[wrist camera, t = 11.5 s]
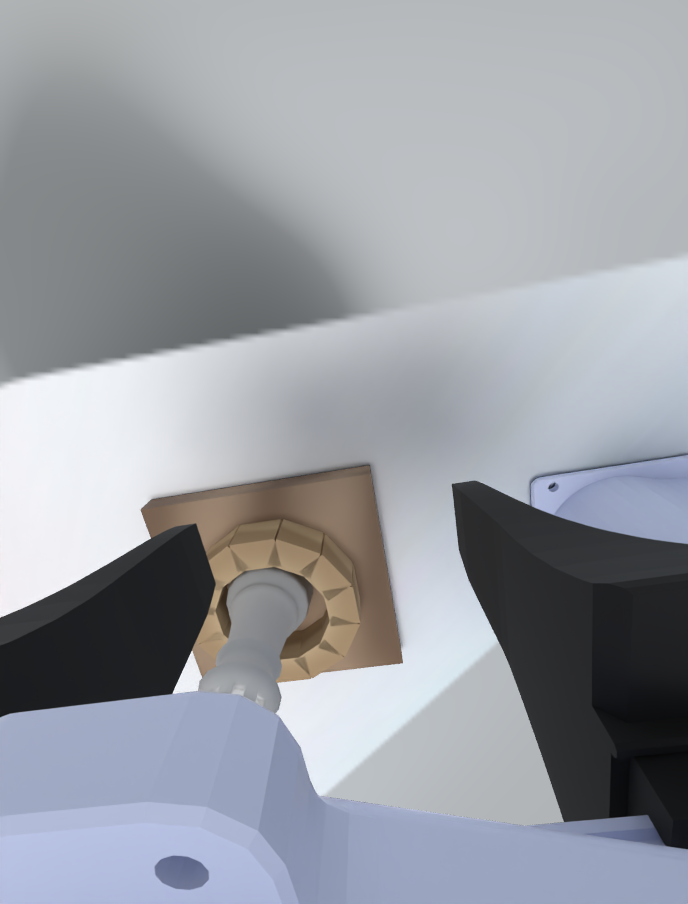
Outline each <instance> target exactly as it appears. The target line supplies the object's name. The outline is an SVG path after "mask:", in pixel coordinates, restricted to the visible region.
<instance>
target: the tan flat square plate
mask: <svg viewBox="0 0 688 904" xmlns="http://www.w3.org/2000/svg"><path fill="white" fill-rule="evenodd" d="M141 512H142V515H143V518H144V520H145V523H146V526H147V529H148V531H149V534H150V537H151V538H153V537H155V536H156V535H158V534H160V533H162V532H164V531H166V530H168V529H170V528H173V527H175V526H182V525H188V524H195V523H196V524H197V527H198V530H199V533H200V537H201V540H202V543H203V546H204V549H205V552H206V555H207V558H208V561H209V564H210V567H211V570H212V573H213V576H214V579H215V582H216V586H215V590H214V594H213V598H212V601H211V605H210V608H209V611H208V615H207V617H206V620H205V622H204V624H203V626H202V629H201V631H200V633H199V636H198V638H197V640H196V642H195V644H194V647H193V649H192V651H193V654H194V656H195V659H196V662H197V664H198V667H199V670H200V673H201V675H202V678H203V676H204V675H205V674H206V673H207V671H209V670H211V669H213V668H215V667H217V666H216V658H217V653H218V652H219V650H220V649H221V648H222V647H223V645H225V644H226V643H227V641H228V638H229V634H230V629H231V624H232V623H231V619H230V616H229V611H228V607H227V604H226V603H227V593H228V587H229V585H230V583H231V581H232V580H233V579H235V578H236V577H237V576H238V575H240V574H241V573H242V572H244V571H248V570H256V569H263V568H270V567H276V568H279V569H282V570H285V571H288V572H292V573H295V574H298V575H301V576H304V577H305V578H306V579H307V580H308V581H309V582H310V583H311V584H312V589H313V594H312V599H311V603H310V605H309V609H308V613H307V616H306V618H305V619H304V621H303V622H302V623H301V624H300V626H299V627H298V628H297V629H296V630H295V631H293V632H292V634H291V635H290V636H289V637H287V639H286V641H285V644H284V646H283V649H282V651H281V654H280V656H279V657H280V660H281V664H282V669H281V674H280V677H279V678H278V679H277V680H276V683H278V682H287V681H296V680H304V679H311V677H312V678H314V677H315V676H317V675H318V674H320V673H322V672H331V671H340V670H348V669H357V668H365V667H374V666H383V665H391V664H400V663H403V660H402V652H401V645H400V639H399V634H398V628H397V622H396V616H395V610H394V605H393V599H392V593H391V587H390V581H389V575H388V570H387V564H386V558H385V552H384V546H383V541H382V535H381V529H380V523H379V517H378V512H377V506H376V500H375V494H374V488H373V483H372V477H371V471H370V465H368V466H362V467H355V468H349V469H343V470H336V471H330V472H324V473H317V474H311V475H305V476H298V477H292V478H286V479H279V480H273V481H267V482H260V483H254V484H247V485H241V486H235V487H228V488H222V489H216V490H209V491H203V492H197V493H190V494H184V495H178V496H171V497H165V498H159V499H152V500H150V501H149V502H148V503H147V504H146V505H145V506H144V507H143V508H142V509H141Z"/></svg>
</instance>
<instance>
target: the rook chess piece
mask: <svg viewBox="0 0 688 904" xmlns="http://www.w3.org/2000/svg"><path fill="white" fill-rule="evenodd" d="M312 594H313V589H312V584H311V583H310V582H309V581H308V580H307V579H306V578H305V577H304V576H301V575H298V574H295V573H292V572H288V571H285V570H282V569H279V568H276V567H270V568H263V569H256V570H248V571H244V572H242V573H241V574H240V575H238V576H237V577H236V578H235V579H233V580H232V581H231V583H230V585H229V587H228V593H227V603H226V604H227V607H228V611H229V616H230V619H231V623H232V624H231V629H230V634H229V638H228V641H227V643H226V644H225V645H223V647H222V648H221V649H220V650H219V652H218V653H217V658H216V666H217V667H215V668H213V669H211V670H209V671H207V673H206V674H205V675H204V676H203V678H202V679H201V680H200V682H199V689H198V691H204V692H216V693H228V694H240V695H241V696H243V697H245V698H247V699H249V700H251V701H253V702H255V703H257V704H259V705H261V706H262V707H264V708H266V709H268V710H270V711H272V712H274V713H276V712H277V711H278V710H279V706H280V702H281V694H280V691H279V687H278V684H277V683H276V680H277V679H278V678H279V677H280V674H281V669H282V664H281V660H280V657H279V656H280V654H281V651H282V649H283V646H284V644H285V641H286V639H287V637H289V636H290V635H291V634H292V632H293V631H295V630H296V629H297V628H298V627H299V626H300V624H301V623H302V622H303V621H304V619H305V618H306V616H307V613H308V609H309V605H310V603H311V599H312Z"/></svg>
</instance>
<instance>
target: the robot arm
mask: <svg viewBox="0 0 688 904" xmlns="http://www.w3.org/2000/svg"><path fill="white" fill-rule="evenodd" d="M551 483H555V486H554V487H553V488H551V489H548V486H549V485H550V484H551ZM452 489H453V499H454V508H455V517H456V527H457V536H458V545H459V551H460V555H461V558H462V561H463V564H464V567H465V570H466V573H467V576H468V579H469V581H470V583H471V586H472V588H473V590H474V592H475V594H476V596H477V598H478V600H479V602H480V604H481V606H482V608H483V610H484V612H485V614H486V617H487V619H488V621H489V623H490V625H491V627H492V629H493V631H494V633H495V635H496V637H497V639H498V641H499V643H500V645H501V647H502V649H503V651H504V653H505V656H506V658H507V660H508V663H509V665H510V668H511V670H512V673H513V676H514V679H515V681H516V684H517V687H518V690H519V692H520V695H521V698H522V700H523V703H524V706H525V709H526V712H527V714H528V717H529V720H530V723H531V725H532V729H533V732H534V734H535V737H536V740H537V743H538V746H539V749H540V751H541V754H542V757H543V760H544V763H545V766H546V769H547V772H548V775H549V778H550V781H551V784H552V787H553V790H554V793H555V796H556V799H557V802H558V805H559V808H560V811H561V814H562V817H563V820H564V822H561V823H550V824H538V825H527V826H523V825H516V824H509V823H503V822H496V821H489V820H482V819H475V818H468V817H461V816H455V815H448V814H441V813H434V812H427V811H420V810H412V809H406V808H400V807H392V806H385V805H379V804H372V803H365V802H358V801H352V800H345V799H338V798H331V797H324V796H319V795H318V794H317V793H316V792H315V790H314V788H313V785H312V783H311V781H310V778H309V775H308V771H307V768H306V765H305V761H304V758H303V755H302V751H301V748H300V746H299V745H298V743H297V742H296V740H295V739H294V737H293V736H292V734H291V733H290V731H289V730H288V729H287V727H286V726H285V724H284V723H283V721H282V720H281V718H280V717H279V716H278V715H277V714H275V713H274V712H272V711H270V710H268V709H266V708H264V707H262V706H261V705H259V704H257V703H255V702H253V701H251V700H249V699H247V698H245V697H243V696H241V695H240V694H228V693H216V692H204V691H194V692H186V693H178V694H172V693H173V691H174V688H175V686H176V684H177V682H178V680H179V677H180V675H181V673H182V671H183V669H184V666H185V664H186V662H187V660H188V658H189V655H190V653H191V651H192V649H193V647H194V644H195V642H196V640H197V638H198V636H199V633H200V631H201V629H202V626H203V624H204V622H205V620H206V617H207V615H208V611H209V608H210V605H211V601H212V598H213V594H214V590H215V586H216V582H215V579H214V576H213V573H212V570H211V567H210V564H209V561H208V558H207V555H206V552H205V549H204V546H203V543H202V540H201V537H200V533H199V530H198V527H197V524H196V523H195V524H188V525H182V526H175V527H173V528H170V529H168V530H166V531H164V532H162V533H160V534H158V535H156V536H155V537H153V538H151V539H149V540H148V541H146V542H144V543H143V544H141V545H139V546H138V547H136V548H134V549H133V550H131V551H129V552H128V553H126V554H124V555H123V556H121V557H119V558H118V559H116V560H114V561H113V562H111V563H109V564H107V565H106V566H104V567H102V568H100V569H98V570H97V571H95V572H93V573H91V574H90V575H88V576H86V577H84V578H83V579H81V580H79V581H77V582H76V583H74V584H72V585H70V586H68V587H66V588H64V589H62V590H60V591H58V592H56V593H54V594H52V595H50V596H48V597H46V598H44V599H42V600H40V601H38V602H36V603H34V604H31V605H29V606H27V607H25V608H23V609H20V610H18V611H15V612H13V613H11V614H8V615H6V616H3V617H1V618H0V904H688V455H685V456H679V457H672V458H665V459H659V460H652V461H645V462H638V463H632V464H625V465H618V466H612V467H605V468H598V469H592V470H585V471H578V472H572V473H565V474H558V475H552V476H545V477H539V478H536V479H535V480H534V481H533V482H532V484H531V506H530V505H527V504H525V503H523V502H521V501H518V500H516V499H514V498H512V497H510V496H508V495H505V494H503V493H501V492H499V491H497V490H495V489H493V488H491V487H489V486H487V485H485V484H483V483H480V482H478V481H469V482H463V483H456V484H452Z"/></svg>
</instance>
